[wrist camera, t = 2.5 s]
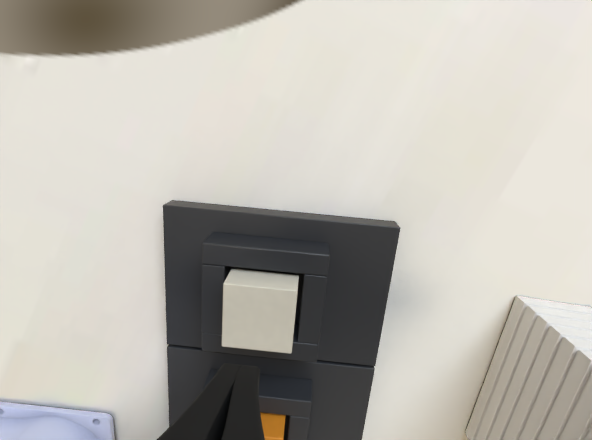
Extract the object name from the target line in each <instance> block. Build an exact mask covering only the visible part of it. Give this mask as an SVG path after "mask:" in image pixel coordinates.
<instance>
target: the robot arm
mask: <svg viewBox="0 0 592 440" xmlns="http://www.w3.org/2000/svg"><path fill="white" fill-rule="evenodd" d="M259 381H260V369H259V368H258V366H249V365H239V364H230V363H224V364H223V365H222V366H221V367H220V369H219V370H218V371H217V373H216V374H215V375H214V377H213V378H212V379H211V381H210V382H209V383H208V385H207V386H206V387H205V388H204V390H203V391H202V392H201V393H200V394H199V396H198V397H197V398H196V399H195V400H194V401H193V403H192V404H191V405H190V406H189V407H188V408H187V409H186V410H185V412H184V413H183V414H182V415H181V416H180V417H179V418H178V419H177V420H176V421H175V422H174V423H173V424H172V425H171V426H170V427H169V428H168V429H167V430H166V431H165V432H164V433H163V434H162V435H161V436H160V437H159V438H158V439H157V440H265V437H264V432H263V427H262V421H261V414H260V406H259ZM0 440H115V435H114V424H113V418H112V416H111V415H110V414H108V413H101V412H92V411H82V410H73V409H64V408H55V407H46V406H37V405H28V404H19V403H10V402H1V401H0Z"/></svg>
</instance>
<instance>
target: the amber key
mask: <svg viewBox="0 0 592 440" xmlns="http://www.w3.org/2000/svg"><path fill="white" fill-rule="evenodd" d="M260 414H261V421H262V427H263V432H264V437H265V440H283V438H284V427H285V417H286V415H280V414H271V413H262V412H260Z"/></svg>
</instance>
